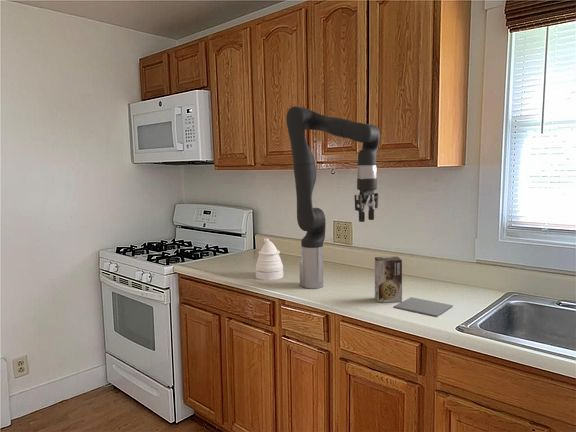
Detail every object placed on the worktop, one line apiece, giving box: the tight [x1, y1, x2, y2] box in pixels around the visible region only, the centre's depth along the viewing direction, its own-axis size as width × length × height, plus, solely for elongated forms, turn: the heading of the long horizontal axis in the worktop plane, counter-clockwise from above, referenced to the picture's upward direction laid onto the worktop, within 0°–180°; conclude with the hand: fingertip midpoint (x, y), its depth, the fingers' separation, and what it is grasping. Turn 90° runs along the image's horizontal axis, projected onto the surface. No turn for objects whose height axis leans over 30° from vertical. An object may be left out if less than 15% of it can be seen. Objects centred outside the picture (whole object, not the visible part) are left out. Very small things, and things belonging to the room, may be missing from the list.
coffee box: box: [374, 255, 403, 303], centre depth 167 cm, size 9×6×16 cm
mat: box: [393, 296, 454, 318], centre depth 159 cm, size 16×14×1 cm
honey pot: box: [255, 237, 284, 281], centre depth 205 cm, size 13×13×18 cm
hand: (366, 220), depth 171 cm, fingers open, 6 cm apart
